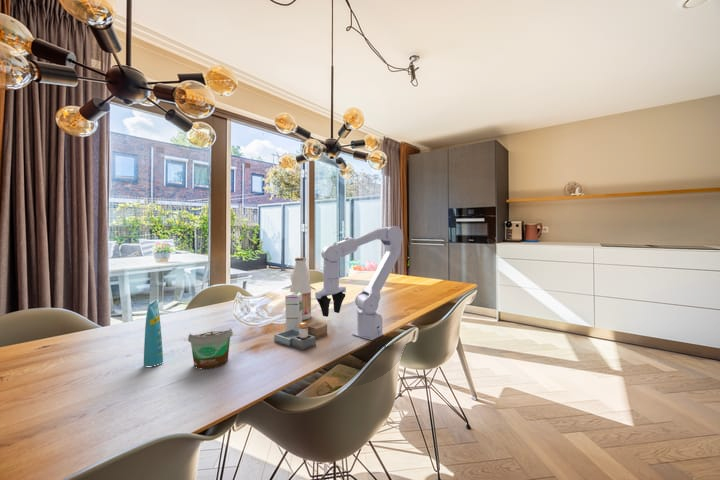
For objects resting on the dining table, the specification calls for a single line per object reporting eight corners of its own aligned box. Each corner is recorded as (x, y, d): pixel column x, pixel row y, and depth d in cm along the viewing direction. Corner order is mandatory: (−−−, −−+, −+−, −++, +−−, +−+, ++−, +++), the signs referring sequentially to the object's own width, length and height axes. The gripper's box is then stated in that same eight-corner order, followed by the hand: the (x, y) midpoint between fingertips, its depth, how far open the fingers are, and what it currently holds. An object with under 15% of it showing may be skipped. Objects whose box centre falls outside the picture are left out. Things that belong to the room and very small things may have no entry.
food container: (187, 374, 84) (186, 339, 83) (188, 366, 89) (187, 333, 89) (234, 365, 89) (234, 332, 89) (233, 358, 95) (232, 326, 94)
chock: (327, 334, 117) (327, 324, 117) (316, 339, 112) (316, 328, 112) (314, 331, 121) (314, 321, 121) (303, 335, 116) (303, 325, 116)
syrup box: (299, 330, 121) (299, 295, 121) (285, 330, 121) (285, 295, 121) (302, 326, 127) (302, 292, 126) (288, 326, 127) (288, 292, 126)
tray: (307, 339, 111) (307, 333, 111) (289, 346, 104) (289, 339, 104) (292, 334, 116) (292, 328, 116) (274, 341, 109) (274, 334, 109)
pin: (309, 345, 105) (309, 322, 105) (303, 348, 103) (303, 325, 103) (304, 343, 107) (303, 321, 107) (297, 346, 105) (297, 323, 104)
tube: (161, 367, 88) (159, 303, 87) (141, 371, 86) (139, 304, 85) (164, 358, 95) (163, 298, 94) (146, 360, 93) (145, 299, 92)
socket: (315, 345, 106) (315, 336, 105) (303, 350, 101) (302, 341, 101) (304, 341, 109) (304, 333, 109) (291, 346, 104) (291, 337, 104)
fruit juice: (295, 321, 133) (294, 259, 132) (287, 316, 140) (287, 257, 140) (314, 318, 138) (314, 258, 137) (306, 313, 146) (305, 256, 145)
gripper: (336, 274, 119) (336, 308, 119) (309, 279, 107) (309, 316, 108) (349, 276, 114) (349, 311, 115) (323, 281, 103) (323, 320, 103)
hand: (331, 314), depth 111 cm, fingers open, 6 cm apart
